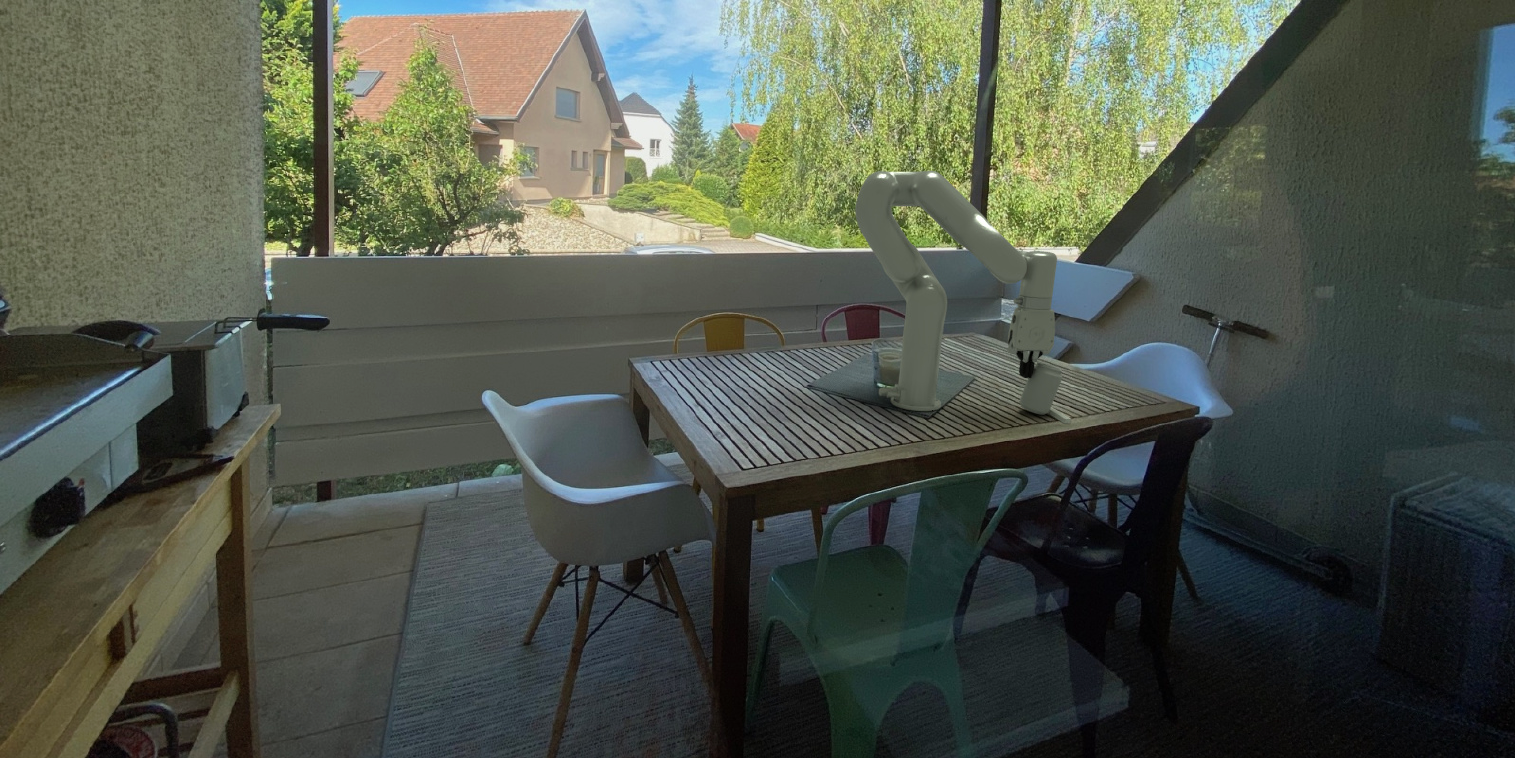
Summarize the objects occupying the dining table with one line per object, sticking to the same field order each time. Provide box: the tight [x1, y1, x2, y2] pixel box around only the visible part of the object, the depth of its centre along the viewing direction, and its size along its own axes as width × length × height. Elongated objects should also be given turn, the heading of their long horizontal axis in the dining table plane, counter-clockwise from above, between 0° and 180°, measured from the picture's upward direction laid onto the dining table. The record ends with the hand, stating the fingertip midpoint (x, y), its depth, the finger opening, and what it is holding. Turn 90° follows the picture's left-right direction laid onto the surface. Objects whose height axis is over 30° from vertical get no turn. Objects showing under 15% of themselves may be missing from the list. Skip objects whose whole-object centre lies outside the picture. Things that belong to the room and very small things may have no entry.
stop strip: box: [1047, 406, 1072, 425], centre depth 195 cm, size 2×18×1 cm, turn 8°
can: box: [1018, 361, 1063, 415], centre depth 192 cm, size 8×8×12 cm
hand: (1025, 376), depth 191 cm, fingers closed
